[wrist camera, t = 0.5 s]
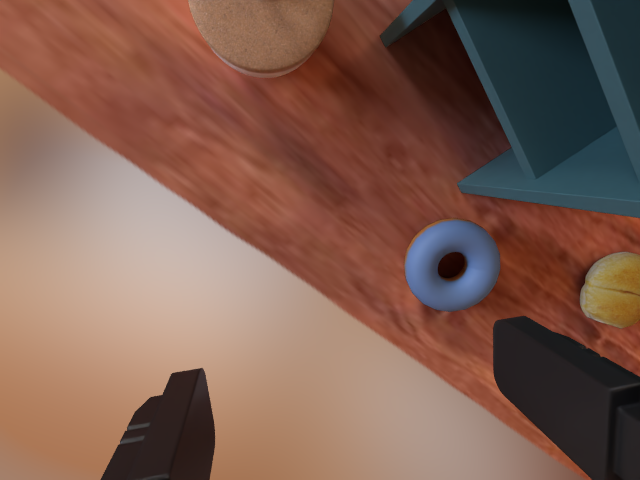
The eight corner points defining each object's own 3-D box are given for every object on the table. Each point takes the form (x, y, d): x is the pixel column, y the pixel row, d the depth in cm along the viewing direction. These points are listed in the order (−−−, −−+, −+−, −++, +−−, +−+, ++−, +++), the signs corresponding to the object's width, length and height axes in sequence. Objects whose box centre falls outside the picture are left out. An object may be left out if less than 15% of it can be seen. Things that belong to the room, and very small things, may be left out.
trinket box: (277, -61, 35) (283, -141, 26) (340, 50, 37) (366, 13, 28) (177, 5, 34) (147, -52, 25) (247, 112, 37) (243, 95, 28)
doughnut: (393, 302, 43) (409, 318, 39) (403, 212, 41) (421, 218, 37) (476, 303, 45) (500, 318, 40) (489, 217, 43) (515, 223, 38)
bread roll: (649, 259, 47) (685, 268, 43) (619, 327, 48) (650, 341, 44) (595, 240, 45) (627, 248, 42) (565, 310, 47) (593, 324, 43)
